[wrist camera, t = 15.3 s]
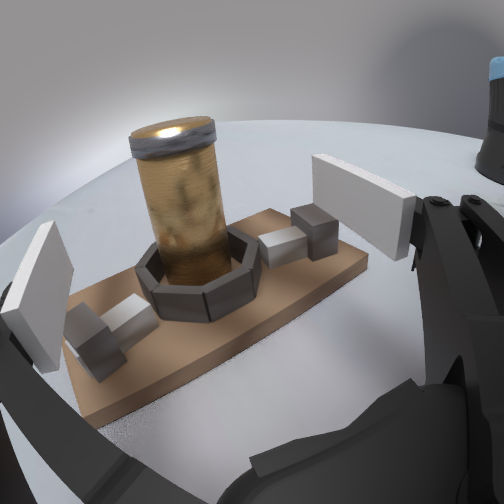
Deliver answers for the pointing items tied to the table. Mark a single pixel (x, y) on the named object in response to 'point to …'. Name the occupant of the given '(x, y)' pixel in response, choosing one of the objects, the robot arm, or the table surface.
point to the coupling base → (202, 340)
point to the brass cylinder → (184, 198)
